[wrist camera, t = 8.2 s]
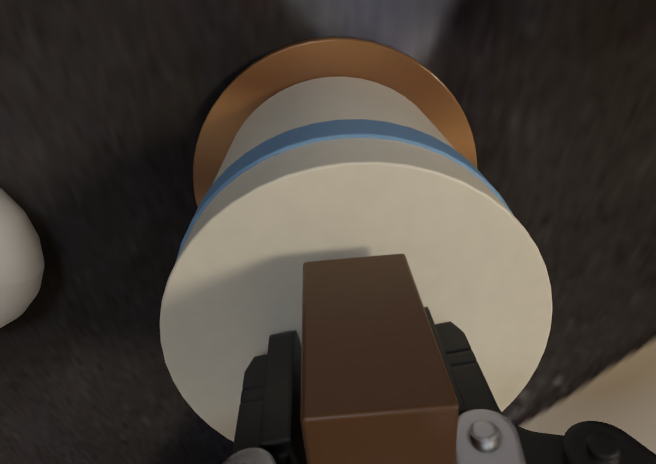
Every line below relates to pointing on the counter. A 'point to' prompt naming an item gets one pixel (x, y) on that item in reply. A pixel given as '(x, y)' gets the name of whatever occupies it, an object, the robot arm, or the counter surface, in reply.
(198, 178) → the copper round disc
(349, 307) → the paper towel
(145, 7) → the counter surface
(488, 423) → the robot arm
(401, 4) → the counter surface
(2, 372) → the counter surface
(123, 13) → the counter surface
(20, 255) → the donut
